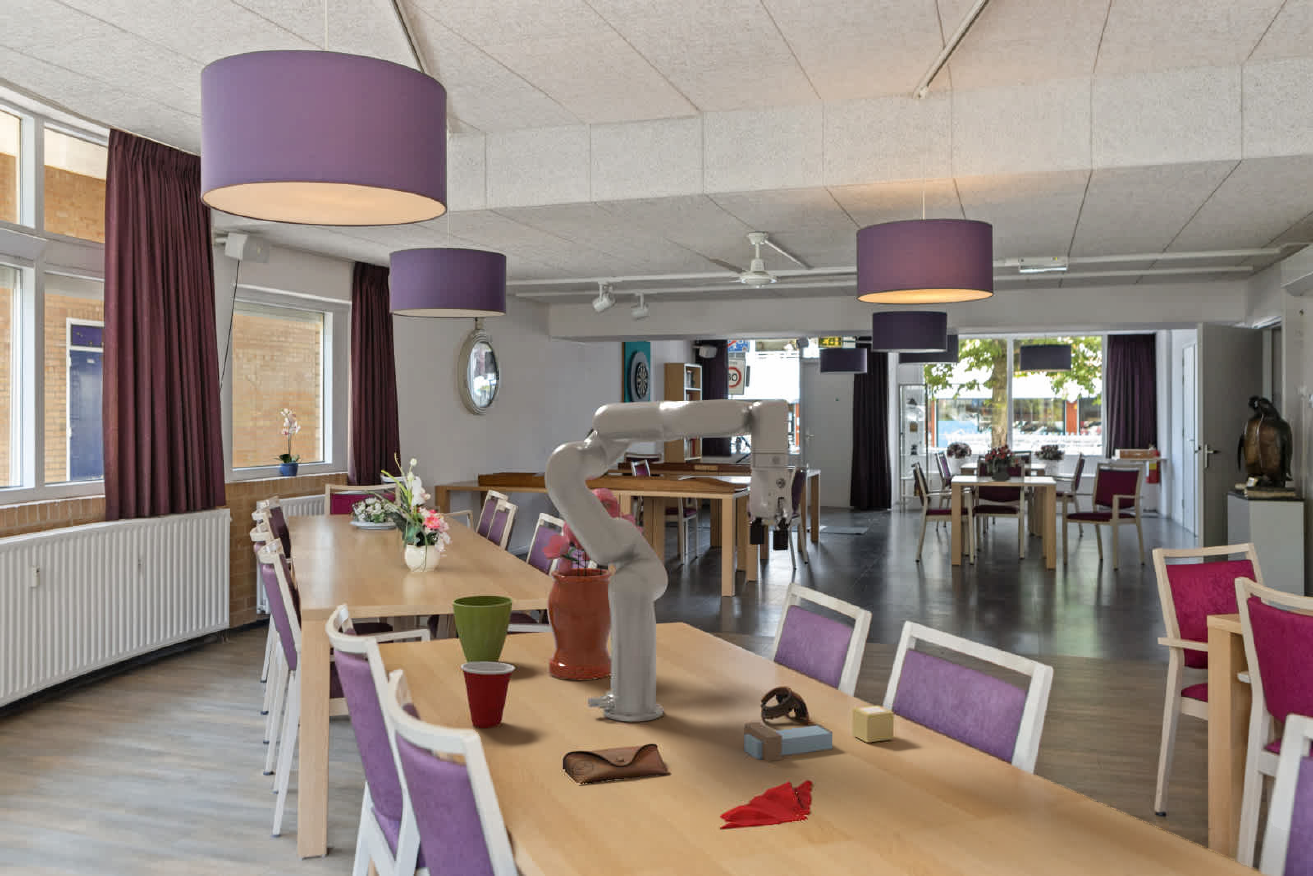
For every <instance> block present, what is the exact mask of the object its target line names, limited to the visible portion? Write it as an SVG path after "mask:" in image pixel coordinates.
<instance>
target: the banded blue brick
mask: <svg viewBox="0 0 1313 876" xmlns="http://www.w3.org/2000/svg"><path fill="white" fill-rule="evenodd" d="M743 729H744V733H743V734H744V735H743V739H744V741H743V742H744V744H743V745H744V746H743V748H744V750H743V751H745V753H747V754H748V755H750V756H751V757H753V758H755V759H757V760H758V759H759V760H761V759H763V760H764V761H765V762H775V761H782V758H783V757H782V756H788V755H789V756H790V755H795V754H804V753H811V752H819V751H825V750H826V751H827V750H832V749H833V731H830V730H829V729H827V728H825V727H823V726H821V725H819V724H817V725H813V726H810V725H809V726H803V727H796V728H795V727H794V728H788V729H787V728H786V729H778V730H773V729H772V728H769V727H768V726H766V725H764V724H763V723H761V722H759V721H755V722H748V723H744V728H743Z"/></svg>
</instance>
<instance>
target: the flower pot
mask: <svg viewBox="0 0 1313 876" xmlns="http://www.w3.org/2000/svg"><path fill="white" fill-rule="evenodd" d="M512 607H513V598H510V597H507V596H502V595H473V596H472V595H471V596H463V597H459V598H456V599H454V600H453V601H452V609H453V615H454V616H453V617H454V621H455V627H456V631H457V635H458V639H459V642H460V646H461V649H462V651H463V655H464V657H465V660H466V663H471V662H497V663H499V660H500V657H501V655H502V652H503V649H504V645H505V642H506V638H507V635H508V632H509V631H508V630H509V627H510V626H509V625H510V622H511V621H510V620H511V614H512V609H513V608H512Z"/></svg>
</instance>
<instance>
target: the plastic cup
mask: <svg viewBox="0 0 1313 876" xmlns="http://www.w3.org/2000/svg"><path fill="white" fill-rule="evenodd" d="M460 668H461V670H462V673H463V678H464V683H465V689H466V694H467V695H466V696H467V701H468V702H467V703H468V709H469V710H470V711H469V712H470V713H469V714H470V718H471V719H470V720H471V723H472V726H473V727H475V728H480V729H491V728H496V727H497V725H498V726H500V725H501V724H502V720H503V714H504V708H505V705H506V700H507V694H508V688H509V684H510V680H511V677H512V674H513V672H514V671H515V669H516V668H515V666H514V665H512V664H509V663H504V662H498V663H497V662H471V663H468V662H466V663H463V664H461V665H460ZM500 723H501V724H500ZM499 724H500V725H499ZM495 726H496V727H495ZM490 727H491V728H490Z"/></svg>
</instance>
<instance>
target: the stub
mask: <svg viewBox="0 0 1313 876" xmlns="http://www.w3.org/2000/svg"><path fill="white" fill-rule="evenodd" d="M894 713H895V712H894V711H892V710H889V709H887V708H885V707H883V706H881V705H879V704H878V705H872V706H871V705H870V706H865V707H864V706H863V707H854V708H852V732H851V733H852V736H854V737H856V738H858V739H860V740H861V741H864V742H866V743H873V742H881V741H887V740H888V741H889V740H894V720H895V719H894V718H895V717H894V715H895V714H894Z"/></svg>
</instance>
